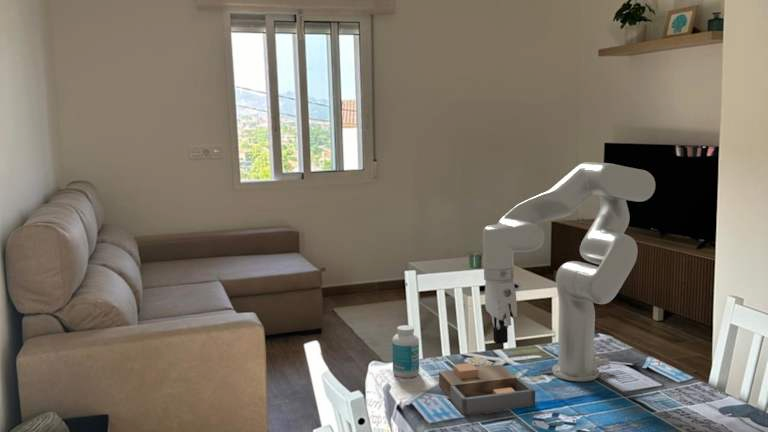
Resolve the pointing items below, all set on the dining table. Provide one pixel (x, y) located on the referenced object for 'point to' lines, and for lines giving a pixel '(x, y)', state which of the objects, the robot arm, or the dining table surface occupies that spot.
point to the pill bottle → (405, 352)
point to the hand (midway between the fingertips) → (500, 342)
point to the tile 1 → (465, 370)
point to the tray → (494, 400)
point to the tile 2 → (502, 390)
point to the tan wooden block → (478, 381)
